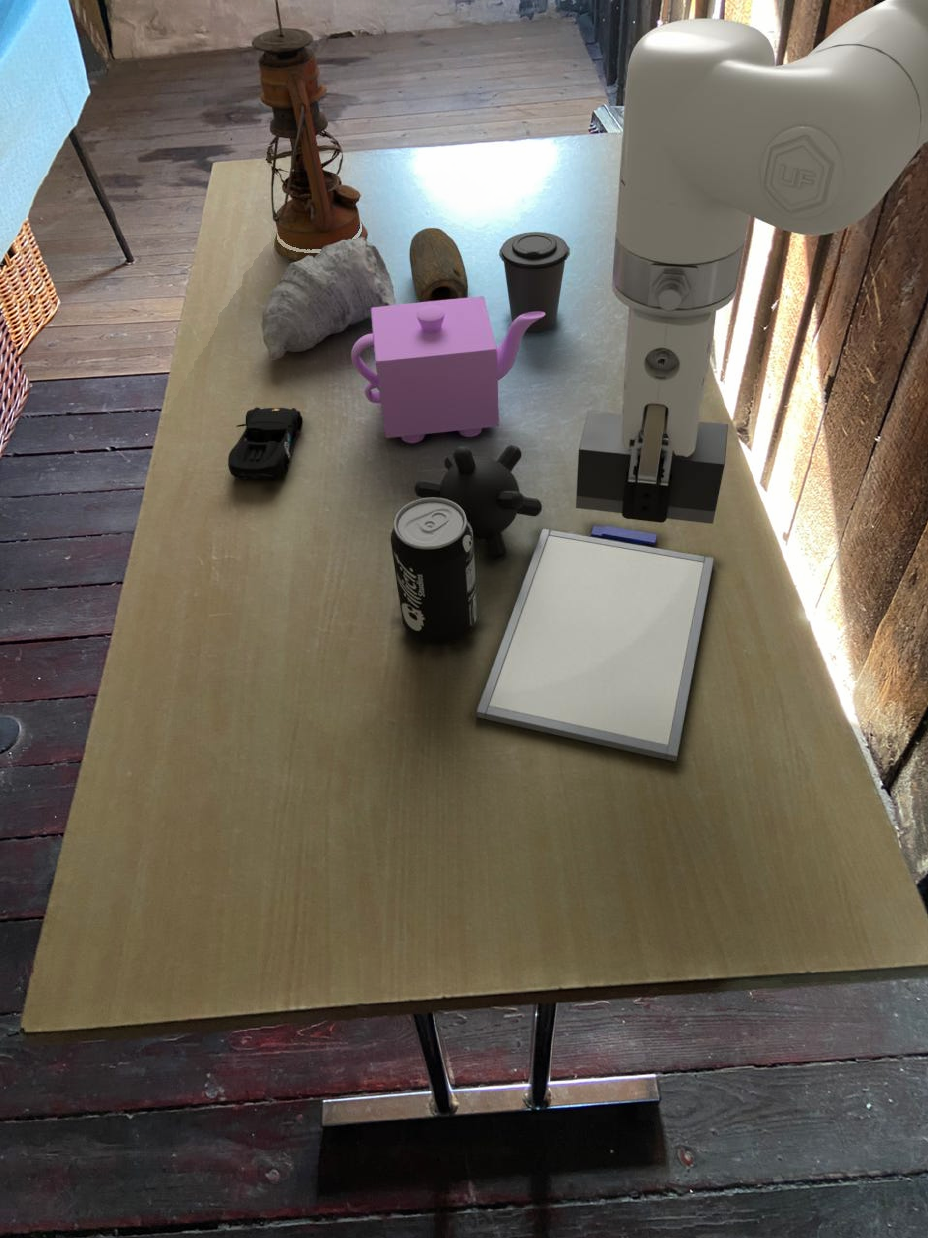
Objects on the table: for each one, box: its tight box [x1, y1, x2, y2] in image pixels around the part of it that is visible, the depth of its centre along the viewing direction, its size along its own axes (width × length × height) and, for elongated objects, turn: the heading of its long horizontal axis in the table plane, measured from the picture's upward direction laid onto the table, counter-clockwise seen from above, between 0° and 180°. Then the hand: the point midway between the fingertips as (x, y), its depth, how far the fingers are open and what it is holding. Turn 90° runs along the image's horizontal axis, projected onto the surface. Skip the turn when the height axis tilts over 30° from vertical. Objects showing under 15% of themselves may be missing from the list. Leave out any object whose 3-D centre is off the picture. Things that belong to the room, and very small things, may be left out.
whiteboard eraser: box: [575, 410, 729, 525], centre depth 68 cm, size 10×5×6 cm, turn 77°
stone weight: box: [408, 227, 469, 303], centre depth 116 cm, size 15×7×7 cm, turn 11°
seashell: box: [261, 237, 397, 360], centre depth 110 cm, size 16×15×10 cm
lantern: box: [251, 0, 369, 262], centre depth 119 cm, size 17×13×30 cm
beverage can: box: [390, 497, 478, 646], centre depth 78 cm, size 7×7×12 cm
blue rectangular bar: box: [602, 524, 658, 546], centre depth 88 cm, size 5×1×1 cm, turn 73°
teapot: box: [350, 296, 545, 444], centre depth 97 cm, size 20×10×12 cm, turn 96°
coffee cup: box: [498, 231, 571, 334], centre depth 110 cm, size 8×8×10 cm
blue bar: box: [590, 525, 645, 546], centre depth 88 cm, size 5×1×1 cm, turn 73°
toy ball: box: [414, 444, 543, 560], centre depth 86 cm, size 11×11×12 cm
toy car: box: [227, 407, 304, 481], centre depth 98 cm, size 8×12×4 cm
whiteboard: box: [476, 528, 715, 763], centre depth 80 cm, size 16×22×1 cm
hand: (648, 491), depth 70 cm, fingers closed on whiteboard eraser, 4 cm apart
